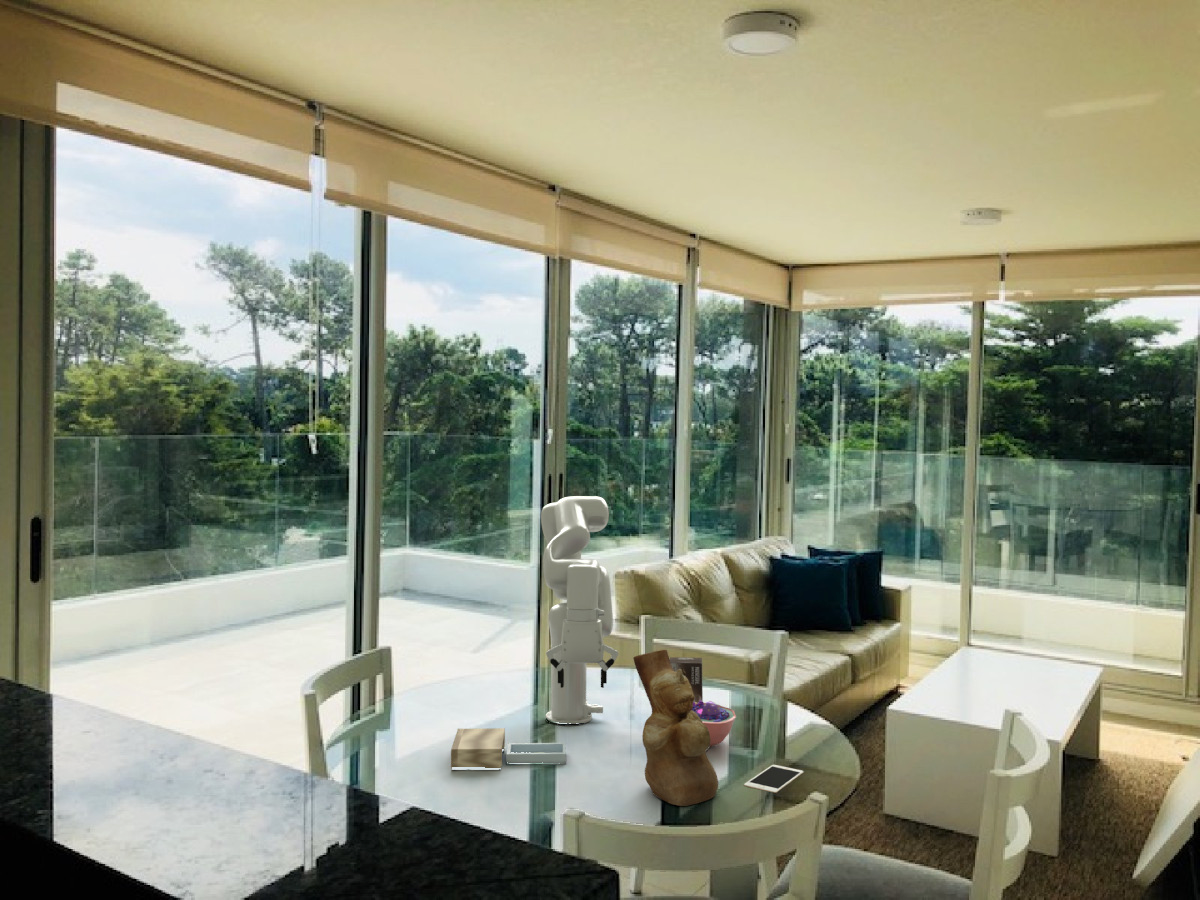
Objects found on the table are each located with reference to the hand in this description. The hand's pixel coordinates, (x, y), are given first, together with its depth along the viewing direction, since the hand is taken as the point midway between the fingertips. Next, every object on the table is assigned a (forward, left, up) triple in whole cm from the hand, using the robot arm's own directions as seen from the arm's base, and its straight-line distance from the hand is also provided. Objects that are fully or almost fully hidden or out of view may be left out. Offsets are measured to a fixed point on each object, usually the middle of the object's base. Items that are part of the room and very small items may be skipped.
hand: (582, 686), depth 235 cm
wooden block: (+25, +1, -17) cm, 30 cm away
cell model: (-29, -9, -17) cm, 35 cm away
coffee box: (-29, -31, -17) cm, 46 cm away
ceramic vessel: (-19, +22, -17) cm, 34 cm away
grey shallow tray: (+11, +1, -17) cm, 20 cm away
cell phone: (-43, +15, -18) cm, 49 cm away
